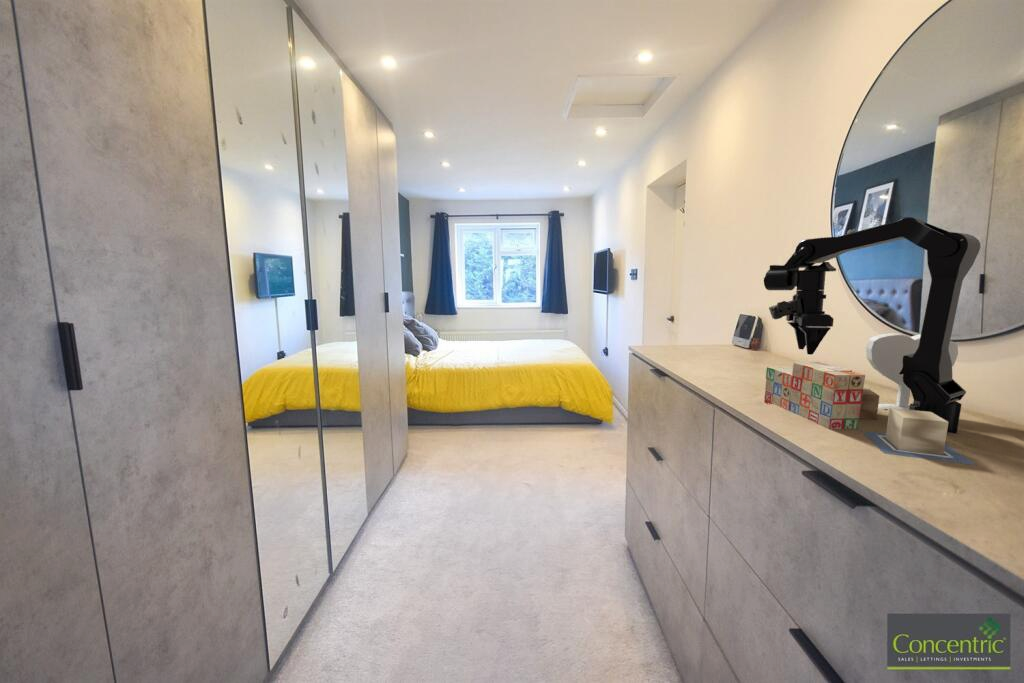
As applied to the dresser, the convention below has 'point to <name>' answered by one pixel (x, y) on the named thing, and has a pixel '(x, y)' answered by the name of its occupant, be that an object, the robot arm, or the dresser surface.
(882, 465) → the dresser surface
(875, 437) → the board
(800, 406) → the stack of blocks
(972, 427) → the dresser surface
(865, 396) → the walnut block
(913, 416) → the beech block
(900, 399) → the heart sculpture
